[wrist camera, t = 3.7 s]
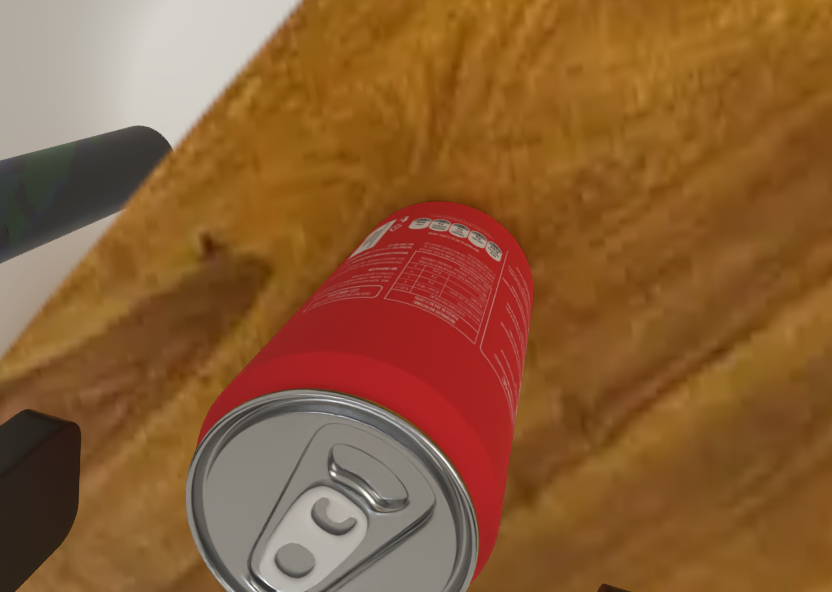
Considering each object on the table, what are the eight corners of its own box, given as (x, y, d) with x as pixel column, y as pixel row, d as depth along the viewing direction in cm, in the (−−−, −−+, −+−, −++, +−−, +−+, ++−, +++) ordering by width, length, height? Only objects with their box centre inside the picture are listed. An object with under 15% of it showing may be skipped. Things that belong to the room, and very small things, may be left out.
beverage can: (572, 267, 22) (568, 527, 11) (464, 388, 24) (367, 711, 13) (429, 155, 22) (275, 306, 11) (331, 288, 24) (115, 531, 13)
